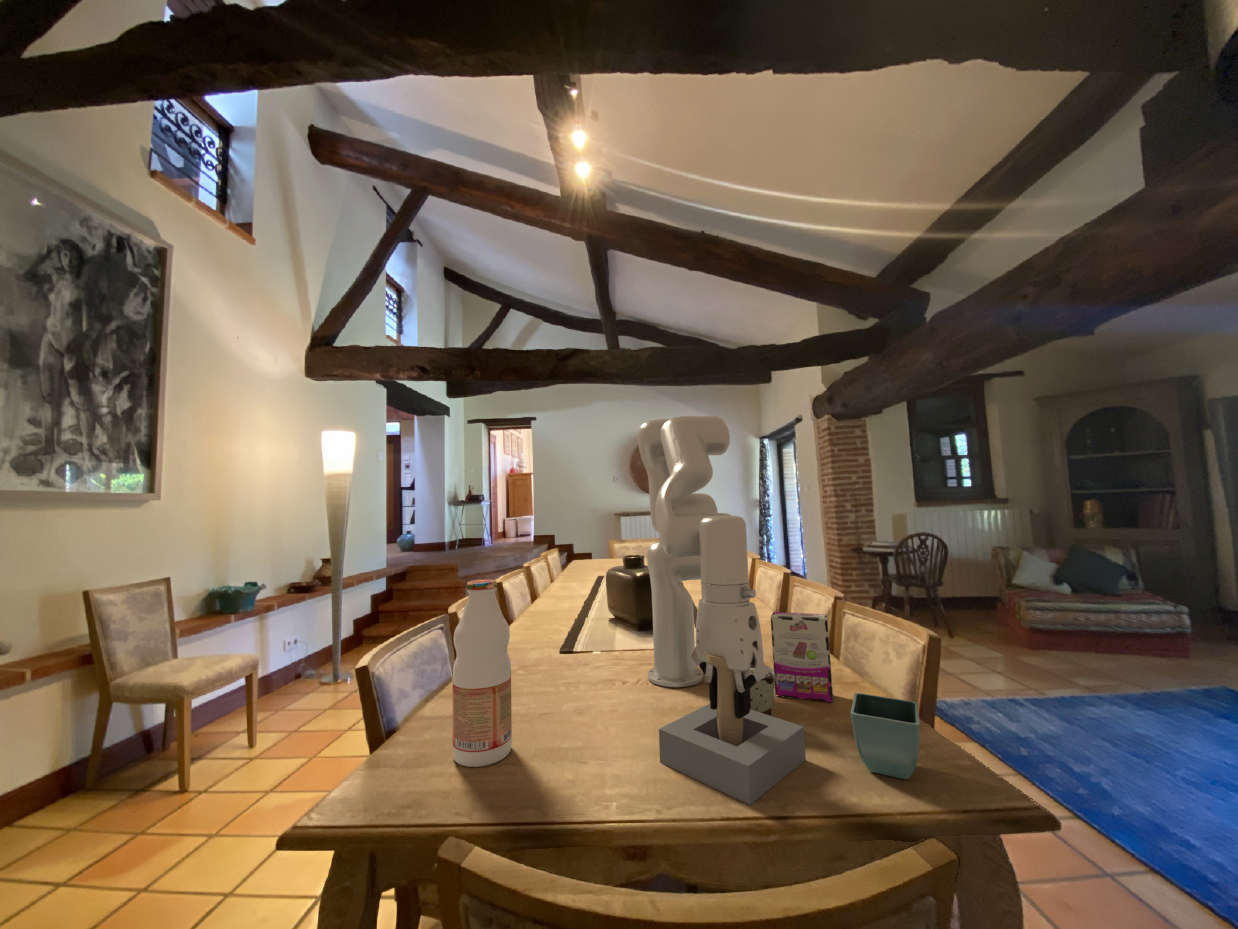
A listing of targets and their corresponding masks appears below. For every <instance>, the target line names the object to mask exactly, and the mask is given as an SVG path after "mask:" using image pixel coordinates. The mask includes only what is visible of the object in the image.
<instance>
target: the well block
mask: <svg viewBox="0 0 1238 929" xmlns="http://www.w3.org/2000/svg"><path fill="white" fill-rule="evenodd" d="M805 739H806V738H805V726H803V725H800V724H796V723H794V722H790V721H788V720H785V719H782V718H778V717H775V716H773V717H772V716H769V715H766V714H763V713H760V712H757V711H754V710H751V709H750V712H749V714H747V715H746V716H744V717H743V737H742V742H741V744H740V745H739V746H734V745H732V744H729V743H726V742H724V741H721V740H720V738H719V732H718V724H717V709H715V710H713V709H711V708H710V703H708V704H705V705H704V706H702V707H700V708H698V709H696V710H693V711H691V712H690V713H687V714H686V715H683V716H682V717H680V718H678V719H676V720H674V721H672V722H670V723H668V724H666V725H664V726H662V727H660V728H659V729H658V741H659V743H658V744H659V763H660V764H663V765H665V766H667V767H669V768H671V769H673V770H675V771H678V772H679V773H682V774H683V775H686V776H688V777H690V778H692V779H695V780H696V781H699V782H701V783H702V784H704V785H706V786H709V787H711V788H713V789H716V790H717V791H719V792H721V793H724V794H725V795H728V796H730V797H732V798H733V799H736V800H738V801H739V802H743V803H745V804H746V805H749V806H751V805H752V804H753V803H755V802H756V801H758V800H759V799H760V798H761V797H762V796H763V795H765V794H766V793H767V792H768V791H770V790H771V789H772V788H773V787H774V786H776V785H777V784H778V783H779V782H780V781H782V780H784V778H786V777H787V776H788V775H789V774H790V773H792V772H793V771H794V770H795V769H797V768H798V767H799V766H800V765H801V764H803V763H805V761H806V760H807V759H806V742H805Z"/></svg>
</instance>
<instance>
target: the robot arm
mask: <svg viewBox="0 0 1238 929" xmlns="http://www.w3.org/2000/svg"><path fill="white" fill-rule="evenodd" d="M637 434H638V435H637V441H638V450H639V454H640V458H641V461H642V463H643V466H644V468H645V471H646V475H647V478H648V494H649V512H650V520H651V521H650V522H651V525H652V528H653V530H654V531H655V532H657V534H658V538H659V540H657V541H655V542H654V543H652V544H650V546H648V549H647V553H646V563H647V568H648V574H649V579H650V581H649V582H650V587H651V607H652V631H653V632H652V635H653V637H652V638H653V660H654V662H653V666H654V667H651V669H649V670H648V671H647V679H648V681H650V682H651V683H652V684H654V685H657V686H661V687H665V688H686V687H692V686H695V685H698V684H700V683H702V680H703V679H705V682H707V683H708V688H709V691H708V692H709V694H708V696H709V704H710V708H711V709H713V710H715V709H717V668H716V667H714V666H712V665H711V664H709V663H708V661H707V654H711V655H714V656H718V657H722V658H726V665H727V666H728V668H729V669H731V670H734V674H735V680H736V685H737V690H736V691H735V692H734V705H735V716H736V718H739V719H740V718H742V717H744V716H746V715H747V714H749V712H750V709H751V700H750V688H752V687H753V685H755V684H756V683H757V682H758V681H759V680H761V679H763V678H765V677H767V676H769V671H768V669H767V667H766V665H767V664H765V661H764V648H763V647H764V646H763V638H762V630H761V624H760V620H759V614H758V611H757V608H756V607H757V606H756V604H755V602H752V601H750V600H751V599H755V598H756V594H757V591H756V589H753V588H751V586H750V583H749V582H750V581H749V562H748V561H749V559H748V556H749V555H748V538H747V537H748V536H747V524H746V521H745V519H744V518H743V517H742V516H738V515H732V514H729V513H725V512H718V508H717V504H716V501H715V500H714V498H713V497H712V496H711V495H709V494H706V493H702V492H701V493H700V492H697V491H700V490H701V489H703V488H705V487H706V486H707V485H709V483H710V481H712V478H713V476H714V469H713V466H712V464H711V463H712V462H711V460H710V458H709V456H722V455H724V454H725V453H726V452H727V450H728V449H729V447H730V442H731V441H730V440H731V436H730V430H729V428H728V426H727V423H726V422H725V421H724V419H722V418H721V417H718V416H714V415H713V416H711V415H709V416H708V415H699V416H698V415H691V416H690V415H688V416H687V415H683V416H682V415H681V416H676V417H671V418H660V419H651V420H648V421H646V422H643V423H642V424H641V425H640V427H639V429H638V433H637ZM696 492H697V493H696ZM699 580H700V587H701V588H700V589H701V590H700V591H701V599H699V601H698V606H697V612H696V621H695V615H694V614H695V613H694V601H693V597H692V595H691V593H690V592H689V591H688V590H687V589H686V587H684V586H683V584H682V582H685V581H699ZM695 622H696V623H695ZM695 624H696V625H695ZM750 665H751V666H754V668H755V673H753V674H751V669H750ZM704 677H705V678H704Z"/></svg>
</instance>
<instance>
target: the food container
mask: <svg viewBox="0 0 1238 929" xmlns="http://www.w3.org/2000/svg"><path fill="white" fill-rule="evenodd" d="M765 665H766V667H767V669H768V671H769V676H767V677H765V678H763V679H761V680H759V681H758V682H757V683H756V684H755V685H753V687H752V688H750V700H751V710H754V711H757V712H760V713H763V714H766V715H769V716H772V717H774V713H773V712H774V699H775V698H774V696H775V681H776V684H777V686H778V681H777V677H776V674H775V672H774V668H772V667H771V666H768V665H767V664H765ZM750 669H751V674H753V673H755V668H754V666H751V665H750Z"/></svg>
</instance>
